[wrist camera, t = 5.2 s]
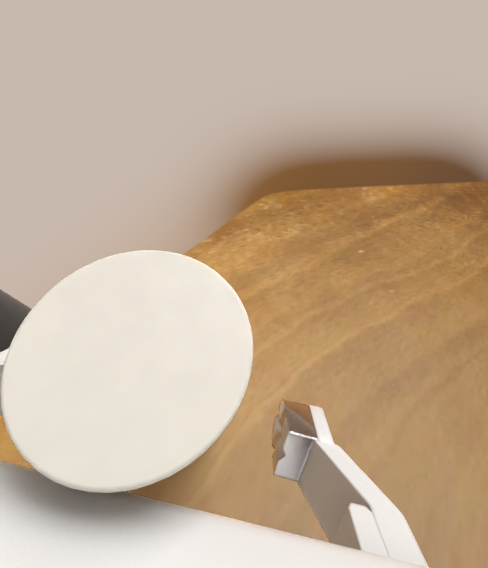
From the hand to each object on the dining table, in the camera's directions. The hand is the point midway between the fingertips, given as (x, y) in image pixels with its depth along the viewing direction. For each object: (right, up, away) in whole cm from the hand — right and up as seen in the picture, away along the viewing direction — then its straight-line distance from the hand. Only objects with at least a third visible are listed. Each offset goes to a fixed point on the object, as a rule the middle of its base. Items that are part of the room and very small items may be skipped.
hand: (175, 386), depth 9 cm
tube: (-1, -4, +7) cm, 8 cm away
